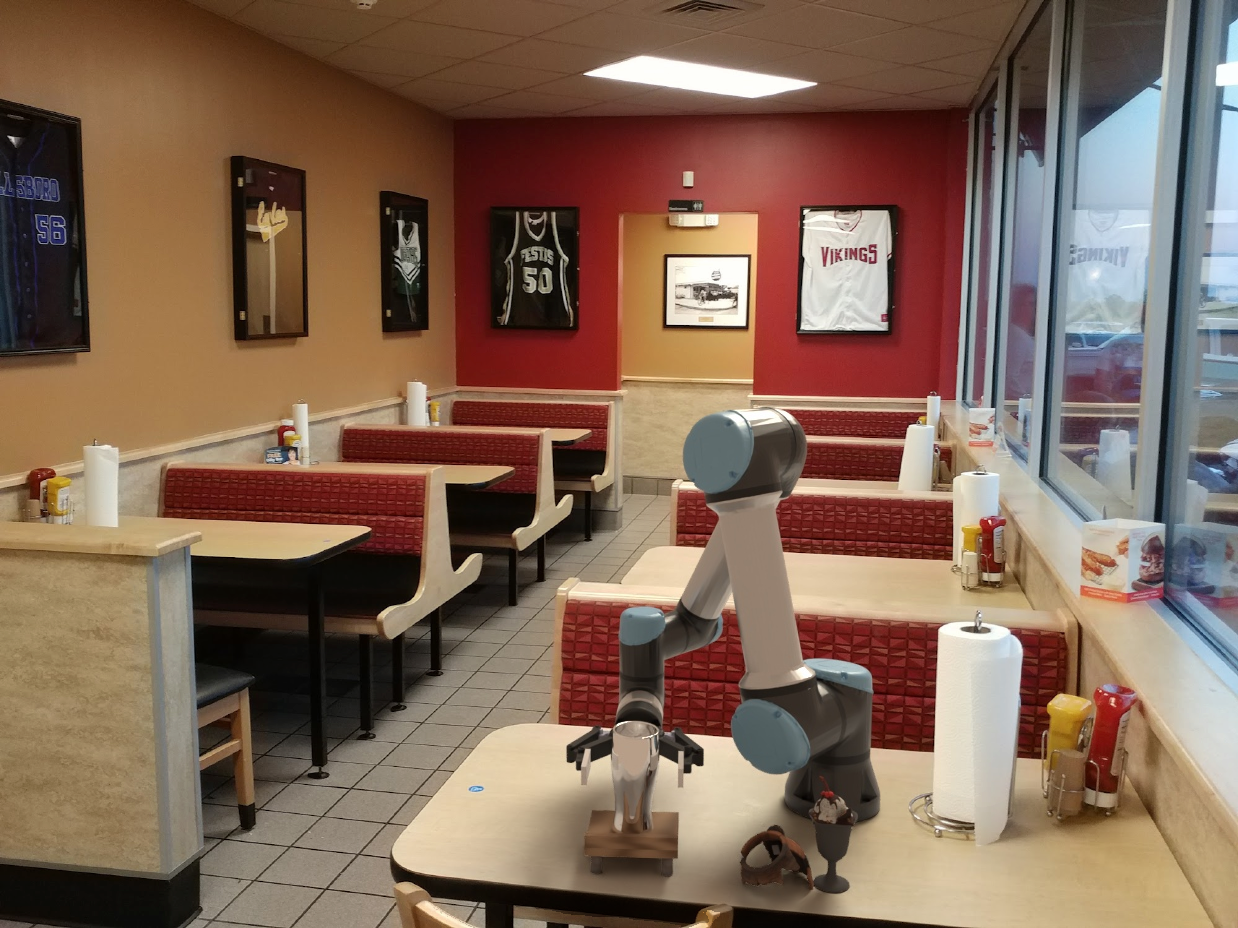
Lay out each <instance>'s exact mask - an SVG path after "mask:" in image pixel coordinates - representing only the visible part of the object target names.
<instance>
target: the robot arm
mask: <svg viewBox="0 0 1238 928" xmlns="http://www.w3.org/2000/svg"><path fill="white" fill-rule="evenodd" d="M807 441H808V440H807V435H806V432H805V431H804V428H803V426H802V425H801V424H800V422H799V421H798V420H797V418H795V417H794V416H793V414H790V413H789V412H787V411H786V410H784V409H781V408H777V407H774V406H762V407H761V406H760V407H757V408H744V409H742V408H741V409H729V410H722V411H719V412H715V413H710V414H709V415H706V416H703V417H702V418H700V419H699V420H698V421H696V422H695V423H694V424H693V426H692V427H691V429H690V431H689V433H688V434H687V435H686V438H685V440H684V444H683V447H682V462H683V463H682V464H683V469H684V471H685V472H684V473H685V474H686V477H687V478H688V480H689V481H690V482H691V483H694V485H693V486H694V487H696V488H697V490H700V491H702V492H703V494H704V500H705V504H706V507H708V508H709V509H710V510H712V511H713V512H714V513H716V514H717V516H718V521H717V523H716V525H715V527H714V529H713V531H712V534H711V536H710V538H709V539H708V541H707V544H706V546H705V548H704V550H703V552H702V554H701V556H700V557H699V560H698V562H697V564H696V566H695V568H694V569H693V573H692V574H691V576H690V578H689V580H688V582H687V584H686V587H685V589H684V590H683V593H682V595H681V596H680V598H679V600H678V602H677V604H676V606H675V608H674V609H673V610H671V611H667V612H663V610H661V609H660V608H656V607H653V606H635V607H629V608H626V609H624V610H623V611H622V612H621V614H620V617H619V618H620V619H619V631H618V634H617V635H618V636H617V637H618V643H619V645H618V646H619V651H618V653H619V657H618V658H619V674H618V677H619V678H618V681H619V682H618V686H619V687H618V688H619V690H618V692H619V695H618V696H619V697H618V707H617V710H616V714H615V721H614V726H615V725H617V724H619V723H622V722H626V721H642V722H647V723H651V724H653V725H655V726H656V727H657V728H658V729H659V749H660V757H663V758H664V759H667V760H668V761H669V760H670V761H671V762H673V763H675V764H677V767H678V768H677V788H678V789H681V788H684V774H685V775H686V774H687V775H688V774H689V775H691V774H692V769H693V768H692V767H693V765H695V766H696V767H703V766H705V763H704V761H705V749H704V748H703V747H702V746H701V745H700V744H698V743H697V742H696V741H694V740H693V739H692V738H691V737H690V736H688V735H687V734H685V733H684V732H683V729H682V727H679V726H677V727H674V728H673V730H671V732H665V730H664V728H663V720H664V706H665V702H666V696H665V695H666V690H665V661H666V660H668V659H671V658H674V657H677V656H679V655H682V654H686V653H688V652H692V651H695V650H697V649H702V648H704V647H707V646H708V645H710V644H712V643H713V642H716V641H717V640H719V638H720V636H722V633H723V630H724V629H723V626H724V625H723V623H724V619H723V616H722V613H723V610H724V608H725V606H726V605H727V602H728V601H729V599H730V597H731V595H732V597H733V598H732V599H733V603H734V610H735V614H736V621H737V626H738V631H739V636H740V642H741V647H742V648H741V649H742V654H743V659H744V665H745V673H744V675H743V676H742V677H741V678H740V680H739V681H738V689H739V693H740V699H741V704H739V705H738V706H737V707H736V709H735V712H734V713H733V715H732V717H731V719H730V720H731V721H730V730H731V731H730V733H731V735H732V740H733V742H734V745H735V746H736V749H737V751H738V752H739V754H741V756H742V758H743V759H744V760H745V761H748V762H749V763H750V764H751V766H752V767H754V768H755V769H756V770H758V771H760V772H763V773H765V774H769V775H774V776H775V775H776V776H777V775H784V774H788V775H787V777H786V781H785V783H784V802H785V805H786V807H788V808H789V809H790V810H791V811H793V812H795V813H796V814H798V815H799V816H802V817H805V818H807V819H811V817H809V816H808V813H809V810H810V809H812V808H814V807H815V805H816V802H817V801H819V800H820V799H821V793H822V792H823V791H825V789H826V786H825V783H824V782H823V781H822V780H821V779H819V777H820V776H821V777H823V779H824V780H825V781H826V783H827V785H828V788H829V791H831V792H833V794H835V795H837V796H839V797H841V798H842V799H843V800H844V802H845V803H846V807H847V808H848V809H849V808H852V811H854V812H856V813H857V815H858V819H857V821H856V823H857V822H861V821H865V820H868V819H870V818H873V817H874V816H876V815H877V814H878V813H879V811H880V808H881V791H880V787H879V783H878V781H877V777H876V774H875V771H874V767H873V762H872V761H871V747H872V746H871V745H872V744H871V743H872V720H873V719H872V716H873V715H872V714H873V697H874V696H873V695H874V690H873V677H872V673H871V672H870V671H869V670H868V669H867V668H866V667H865V666H862V665H859V664H856V663H853V662H849V661H845V660H840V659H839V660H838V659H832V658H807V659H803V654H802V648H801V644H800V643H801V642H800V638H799V632H798V627H797V621H796V616H795V610H794V606H793V599H792V595H791V589H790V584H789V578H788V577H789V576H788V573H787V572H788V571H787V566H786V561H785V555H784V549H783V545H782V538H781V533H780V529H779V528H780V527H779V522H778V517H777V512H776V510H777V508H778V505H779V504H780V502H781V501H782V500H786V499H788V498H789V497H790V496H791V494H792V492H793V491H794V488H795V486H796V485H797V483H798V481H799V479H800V477H801V475H802V472H803V470H804V468H805V463H806V459H807V455H808V442H807ZM614 726H613V727H612V728H611V729H610V730H604V729H603V728H602V726H601V725H599V724H596V725H593V726H592V728H591V730H589V731H587V732H586V733H584V734H583V735H581V736H579V737H578V738H576V739H574V740H573V741H572V742H570V743H567V745H566V754H565V755H566V763H568V764H574V763H575V770H576V771H578V772H580V781H581V782H580V785H582V786H588V785H587V784H588V779H589V775H590V770H591V766H592V764H591V763H593V762H595V761H598V760H600V759H602V758H605V757H607V756H609V755H610V756H611V746H612V737H613V728H614ZM828 788H827V791H828Z"/></svg>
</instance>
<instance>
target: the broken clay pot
mask: <svg viewBox="0 0 1238 928" xmlns="http://www.w3.org/2000/svg"><path fill="white" fill-rule="evenodd" d="M761 844H762V846H763V847H764V849H765V850H766V852H767V854H768V856H769V859H770V860H771V862H770V863H767V864H765V865H763V866H757V867H756V866H751V865H749V864H748V863H747V859H748V856H749V854H750V853H751V852H752V851H753V850H755V848H756V847H757V846H759V845H761ZM740 855H741V856H742V858H740V860H739V865H740V878H741V881H742V883H743V884H747V885H750V886H754V887H759V886H767V885H770V884H778V885H781V886H783V885H784V883H783V876H782V870H785V871H789V872H792V873H799V874H803V875H804V876H806V881H807V882H808V887H809V890H813V889H814V887H815V885H814V882H813V880H814V879H813V873H812V869H811V864H810V861H809V860H808V857H807V855H806V852H805V850H803V848H802V847H801V846H800V845H799V844H798V843H797V842H796V841H795V840H793V839H792V838H789V837H786V835H785V831H784V828H782V826H780V825H778V824H773V825H770V826H769V827H768V828H767V829H766V830H765V831H761V832H758V833H757V834H755V835H753V836H752V837H750V838H749V839H747V841H746V842H744V845H743V846H742V848H741V849H740Z"/></svg>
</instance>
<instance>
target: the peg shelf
mask: <svg viewBox="0 0 1238 928" xmlns="http://www.w3.org/2000/svg"><path fill="white" fill-rule="evenodd" d="M614 813H615V810H608V809H607V810H606V809H605V810H604V809H602V810H601V809H591V812H590V818H589V823H588V827H587V831H586V832H584V834H583V835H584V837H583V838H584V839H583V841H584V845H583V847H584V853H583V854H584V857H590V858H589V859H590V861H589V862H590V869H589V870H590V873H591V874H593V875H600V874H601V873H602V872H603V861H602V860H603V857H604V858H605V857H606V858H609V857H611V858H638V859H639V858H640V859H661V875H662V876H663V877H671V876H673V874H674V873H673V872H674V859H679V826H680V825H679V824H680V823H679V821H680V818H679V817H680V813H679V812H678V811H677V812H676V811H652V818H653V824H654V830H653V832H652V833H651V834H628V833H615V832H614V831H613V830H612V822H613V817H614Z"/></svg>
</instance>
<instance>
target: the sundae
mask: <svg viewBox="0 0 1238 928" xmlns="http://www.w3.org/2000/svg"><path fill="white" fill-rule="evenodd" d="M819 779H821V780H822V781H823V782H824V783H825V786H826V789H825V791H823V792H822V793H821V799H820V800H819V801H817V802H816V805H815V807H814V808H812V809H810V810H809V813H808V816H809V817H811V818H810V819H811V821H812V823H813V825H814V833H815V841H816V847H817V852H818V853H819V854H820V856H821V857H822V858H823V859H824V860H826V861H827V869H826V870H827V871H826V873H822V874H819V875H817V876H815V877H814V879H813V882H814V887H815V888H816V889H818V890H820V891H822V892H825V893H830V894H837V893H838V894H840V893H843V892H845V891H848V889H849V888H850V886H851V885H850V882H849V881H848V879H846V877H843V876H842V875H838V874H837V862H838V861H840V860H842V859H843V858H844V857H845V856H847V852H848V849H849V845H850V840H851V839H850V838H851V832H852V827H854V825H855V824H856V823H857V822H858V821H857V819H858V815H857V813H856V812H854V811H852V808H849V809H848V808H847V807H846V803H845V802H844V800H843V799H842V798H841V797H839V796H837V795H835V794H833V792H831V791H829V788H828V785H827V783H826V781H825V780H824V779H823V777H821V776H820V777H819ZM827 788H828V791H827ZM856 821H857V822H856Z"/></svg>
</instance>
